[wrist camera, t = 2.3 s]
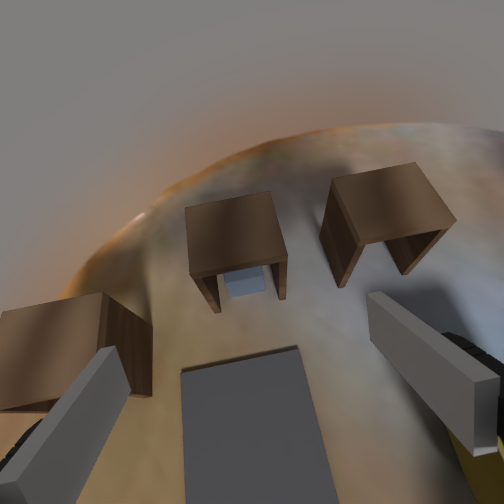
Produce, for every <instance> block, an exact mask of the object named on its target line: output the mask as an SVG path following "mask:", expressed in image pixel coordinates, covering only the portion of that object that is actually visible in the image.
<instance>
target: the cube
mask: <svg viewBox="0 0 504 504" xmlns="http://www.w3.org/2000/svg"><path fill="white" fill-rule="evenodd" d="M223 274H224V281H225V285H226V287H227V290H228V292H229V294H230V297H236V296H241V295H246V294H251V293H255V292H260V291H265V284H264V276H263V271H262V267H261V266H257V267H252V268H247V269H242V270H237V271H232V272H227V273H223Z"/></svg>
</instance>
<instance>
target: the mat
mask: <svg viewBox="0 0 504 504" xmlns="http://www.w3.org/2000/svg"><path fill="white" fill-rule="evenodd" d="M180 375H181V399H182V423H183V447H184V471H185V495H186V504H339V502H338V498H337V494H336V490H335V486H334V482H333V479H332V475H331V471H330V467H329V463H328V459H327V455H326V452H325V448H324V444H323V440H322V436H321V432H320V428H319V424H318V421H317V417H316V413H315V409H314V405H313V401H312V397H311V394H310V390H309V386H308V382H307V378H306V374H305V370H304V367H303V363H302V359H301V355H300V351H299V349H295V350H291V351H286V352H281V353H276V354H271V355H266V356H262V357H257V358H252V359H247V360H242V361H237V362H233V363H228V364H223V365H218V366H213V367H208V368H204V369H199V370H194V371H189V372H184V373H180Z"/></svg>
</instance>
